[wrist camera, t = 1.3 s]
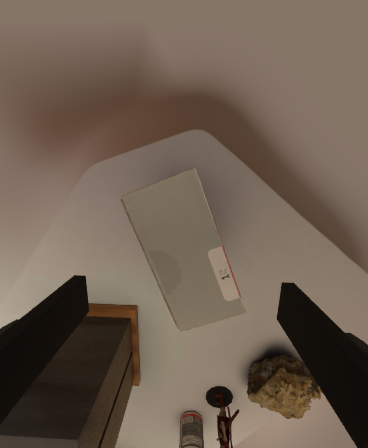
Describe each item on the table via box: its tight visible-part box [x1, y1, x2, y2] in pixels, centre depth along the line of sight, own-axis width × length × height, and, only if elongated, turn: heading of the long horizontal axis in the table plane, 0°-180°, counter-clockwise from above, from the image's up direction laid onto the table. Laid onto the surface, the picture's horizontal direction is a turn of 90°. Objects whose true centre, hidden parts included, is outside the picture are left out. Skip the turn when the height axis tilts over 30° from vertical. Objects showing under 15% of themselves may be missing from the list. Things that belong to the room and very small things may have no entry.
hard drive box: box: [121, 168, 246, 332], centre depth 28 cm, size 16×8×20 cm, turn 21°
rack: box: [0, 304, 140, 448], centre depth 34 cm, size 21×18×22 cm
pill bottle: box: [179, 412, 204, 448], centre depth 44 cm, size 6×6×10 cm
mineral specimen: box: [247, 355, 323, 419], centre depth 40 cm, size 14×13×10 cm
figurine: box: [206, 386, 239, 448], centre depth 40 cm, size 7×7×15 cm
